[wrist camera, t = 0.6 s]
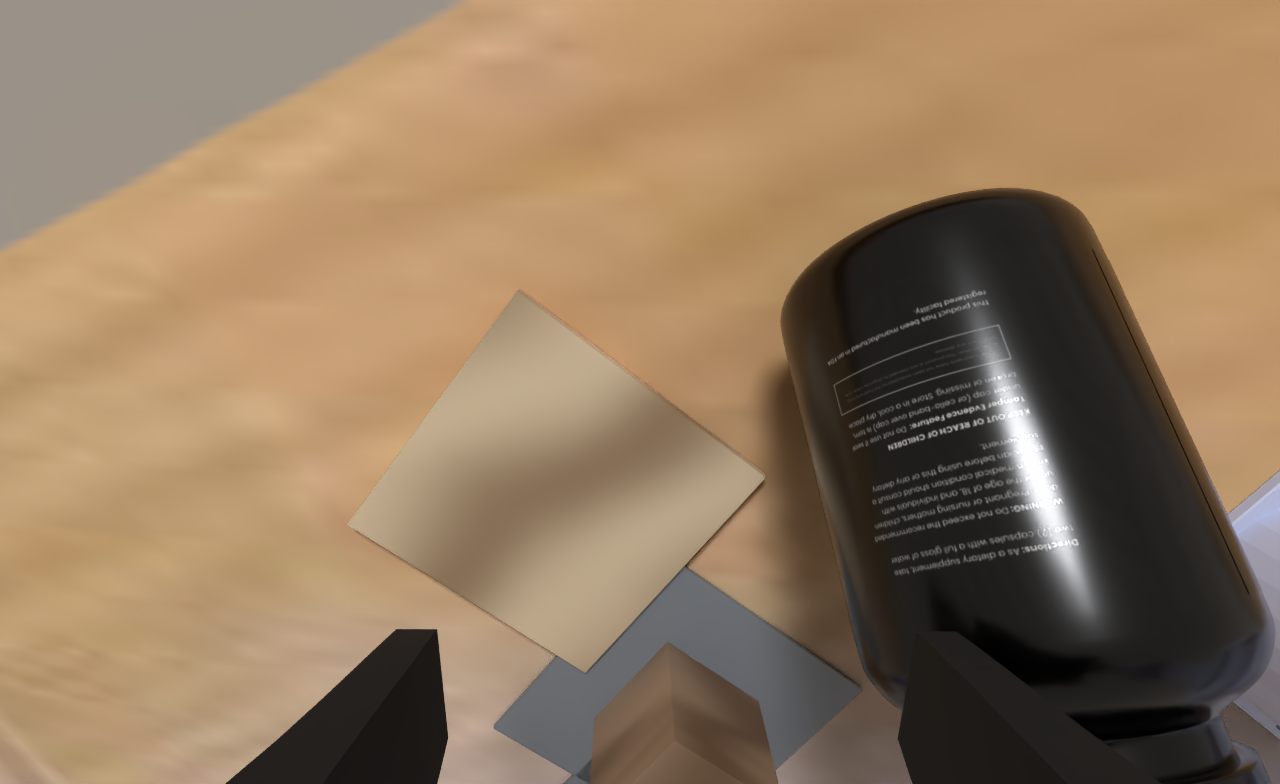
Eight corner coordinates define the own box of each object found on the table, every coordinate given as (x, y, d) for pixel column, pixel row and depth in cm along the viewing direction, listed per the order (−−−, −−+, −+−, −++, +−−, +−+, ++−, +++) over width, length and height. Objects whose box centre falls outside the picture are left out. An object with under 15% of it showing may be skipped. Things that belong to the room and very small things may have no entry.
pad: (763, 471, 20) (765, 477, 19) (586, 664, 22) (585, 673, 22) (519, 289, 18) (517, 291, 18) (352, 518, 20) (347, 525, 20)
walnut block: (758, 701, 22) (784, 808, 19) (684, 772, 23) (694, 888, 19) (667, 641, 22) (674, 740, 18) (594, 718, 22) (586, 827, 19)
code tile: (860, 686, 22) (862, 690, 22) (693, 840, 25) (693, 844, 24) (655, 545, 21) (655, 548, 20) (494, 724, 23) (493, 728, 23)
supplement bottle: (767, 354, 19) (871, 842, 14) (787, 210, 13) (983, 999, 8) (1010, 314, 18) (1195, 807, 14) (1159, 143, 12) (1582, 946, 8)
